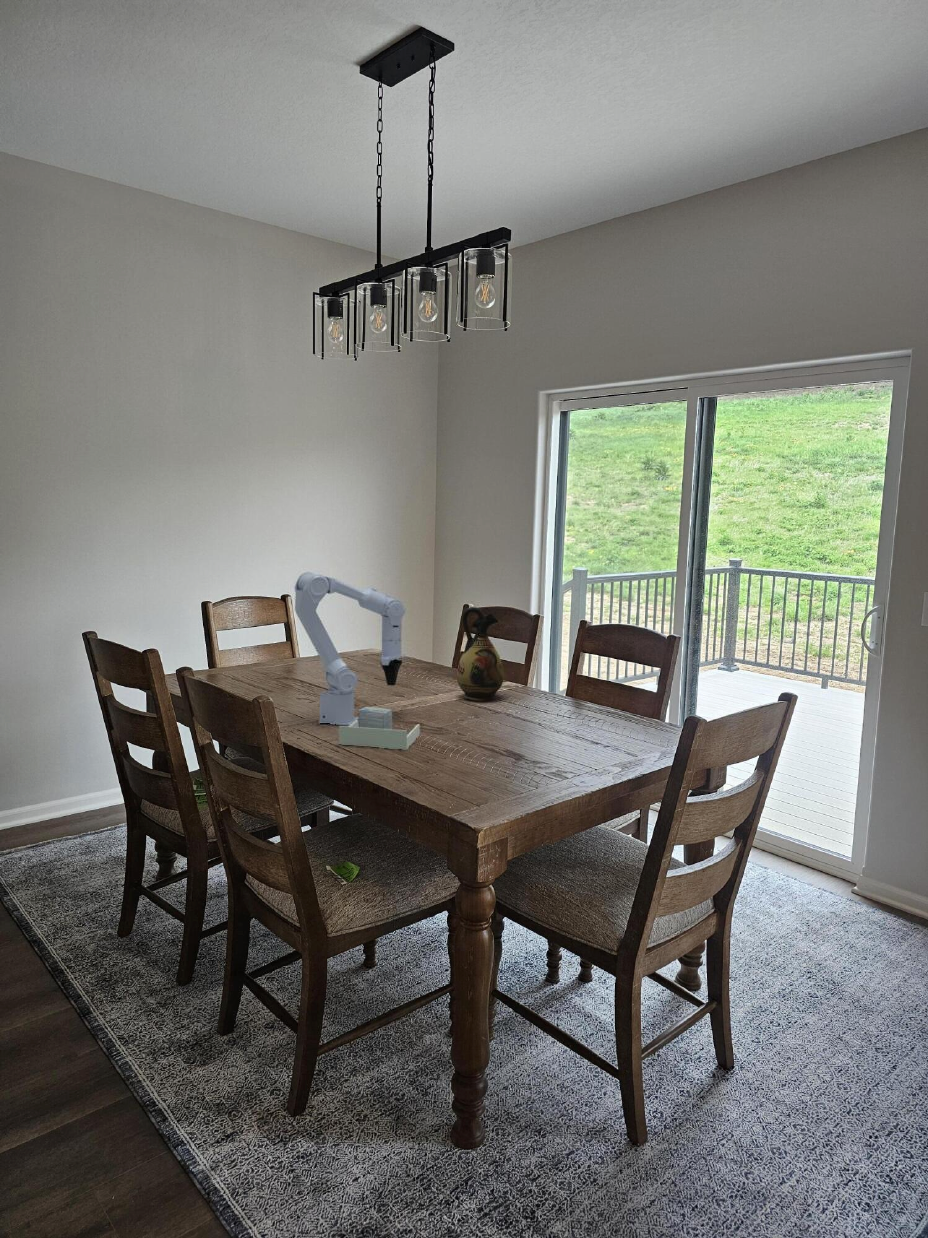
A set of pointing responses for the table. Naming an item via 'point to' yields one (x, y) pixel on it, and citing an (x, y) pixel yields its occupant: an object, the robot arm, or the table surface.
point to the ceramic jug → (480, 660)
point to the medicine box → (375, 718)
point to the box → (377, 736)
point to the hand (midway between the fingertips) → (391, 685)
